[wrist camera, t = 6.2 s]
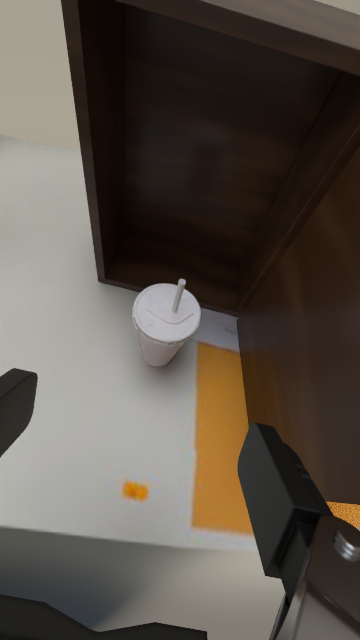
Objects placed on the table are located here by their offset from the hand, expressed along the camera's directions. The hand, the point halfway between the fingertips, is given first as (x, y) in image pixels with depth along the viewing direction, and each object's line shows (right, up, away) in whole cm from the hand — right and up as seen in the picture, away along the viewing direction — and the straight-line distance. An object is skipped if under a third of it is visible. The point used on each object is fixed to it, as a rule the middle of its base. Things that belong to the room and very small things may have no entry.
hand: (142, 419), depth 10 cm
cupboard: (+1, +11, +30) cm, 32 cm away
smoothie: (-1, 0, +23) cm, 23 cm away
